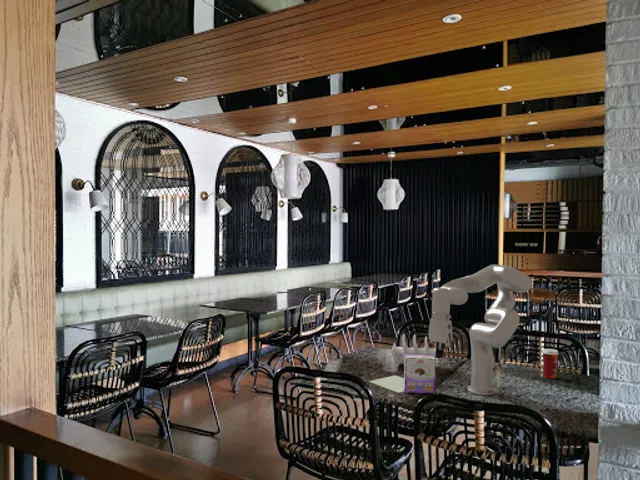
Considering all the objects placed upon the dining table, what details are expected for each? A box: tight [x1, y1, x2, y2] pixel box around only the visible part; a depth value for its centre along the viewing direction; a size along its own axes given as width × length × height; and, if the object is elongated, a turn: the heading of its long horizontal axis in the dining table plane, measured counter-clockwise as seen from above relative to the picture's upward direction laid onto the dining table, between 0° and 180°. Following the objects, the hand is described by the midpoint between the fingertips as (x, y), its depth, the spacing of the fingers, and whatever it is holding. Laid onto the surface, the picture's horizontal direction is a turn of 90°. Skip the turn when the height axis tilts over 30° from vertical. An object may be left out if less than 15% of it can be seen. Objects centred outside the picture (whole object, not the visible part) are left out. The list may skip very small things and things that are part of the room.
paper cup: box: [541, 348, 559, 379], centre depth 251 cm, size 8×8×14 cm
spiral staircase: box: [391, 333, 438, 366], centre depth 267 cm, size 18×18×25 cm
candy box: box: [403, 354, 437, 395], centre depth 225 cm, size 14×6×16 cm, turn 84°
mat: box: [368, 375, 405, 394], centre depth 237 cm, size 20×18×1 cm
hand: (439, 357), depth 215 cm, fingers closed
